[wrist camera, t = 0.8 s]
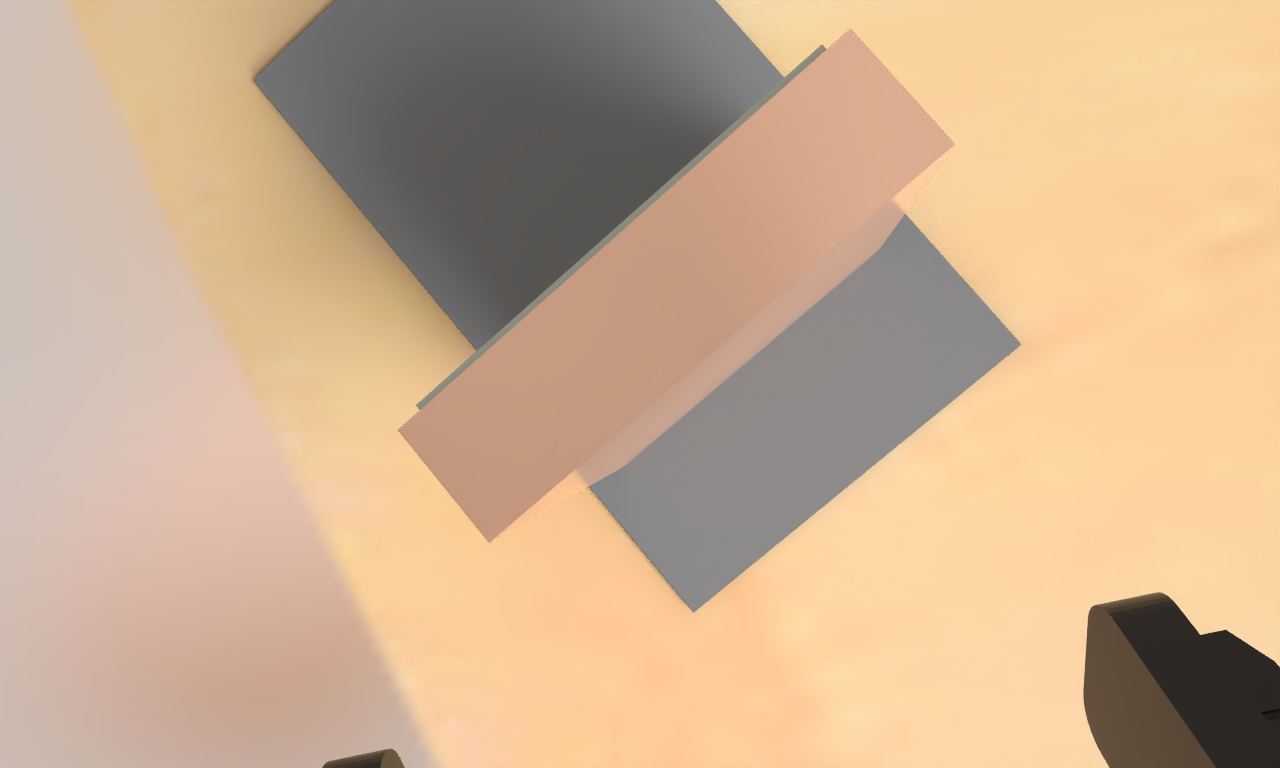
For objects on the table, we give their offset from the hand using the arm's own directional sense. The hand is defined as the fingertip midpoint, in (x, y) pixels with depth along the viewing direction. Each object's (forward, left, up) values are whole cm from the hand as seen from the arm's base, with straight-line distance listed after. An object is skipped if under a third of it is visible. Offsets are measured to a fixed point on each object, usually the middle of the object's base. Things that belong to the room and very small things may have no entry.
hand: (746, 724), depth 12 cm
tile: (-2, -5, -19) cm, 20 cm away
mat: (-2, -10, -19) cm, 22 cm away
